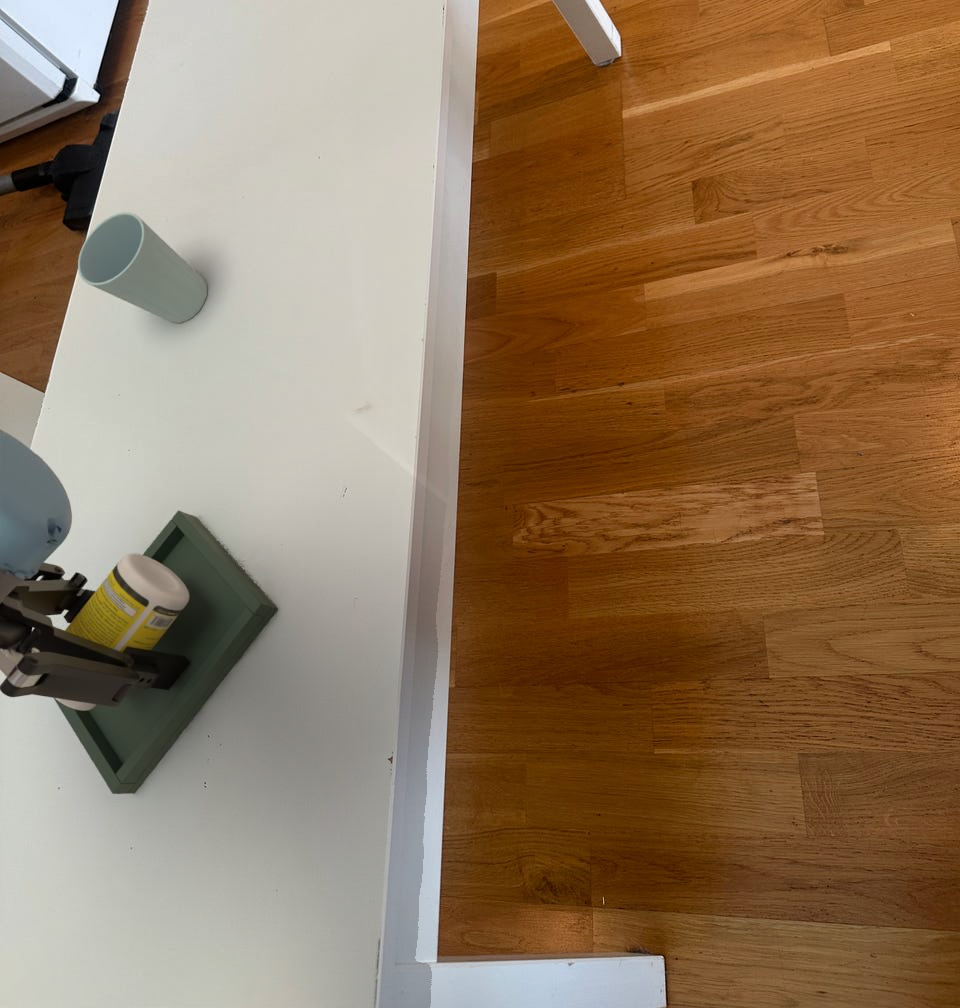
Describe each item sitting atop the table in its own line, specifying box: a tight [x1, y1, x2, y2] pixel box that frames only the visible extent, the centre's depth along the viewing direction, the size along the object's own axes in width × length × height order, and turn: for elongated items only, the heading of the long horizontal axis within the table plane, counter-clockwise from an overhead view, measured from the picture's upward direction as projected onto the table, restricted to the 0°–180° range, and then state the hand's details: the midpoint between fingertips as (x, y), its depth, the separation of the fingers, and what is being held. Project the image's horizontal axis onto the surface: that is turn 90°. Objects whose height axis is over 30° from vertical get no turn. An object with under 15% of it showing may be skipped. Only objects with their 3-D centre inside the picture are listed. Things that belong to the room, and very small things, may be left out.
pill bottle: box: [55, 553, 189, 710], centre depth 68 cm, size 6×6×11 cm
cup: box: [77, 211, 208, 324], centre depth 85 cm, size 8×8×10 cm
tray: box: [53, 509, 279, 795], centre depth 72 cm, size 18×13×2 cm
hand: (155, 645), depth 72 cm, fingers closed on pill bottle, 6 cm apart
